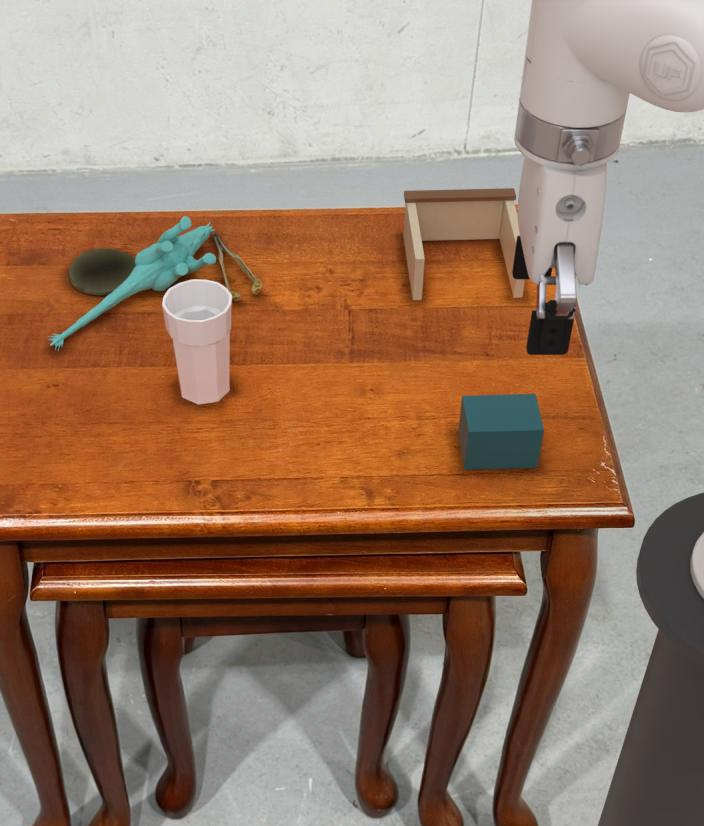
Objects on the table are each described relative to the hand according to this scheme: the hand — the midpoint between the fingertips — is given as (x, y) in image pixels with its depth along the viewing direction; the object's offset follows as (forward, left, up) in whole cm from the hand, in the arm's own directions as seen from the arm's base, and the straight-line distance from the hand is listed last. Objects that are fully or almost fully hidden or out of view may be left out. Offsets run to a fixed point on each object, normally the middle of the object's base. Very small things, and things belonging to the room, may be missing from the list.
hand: (538, 313), depth 104 cm
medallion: (+54, +2, -20) cm, 57 cm away
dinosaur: (+44, +2, -16) cm, 47 cm away
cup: (+32, +8, -21) cm, 39 cm away
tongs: (+44, -8, -22) cm, 50 cm away
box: (+4, -4, -21) cm, 22 cm away
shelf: (+24, -26, -21) cm, 41 cm away
